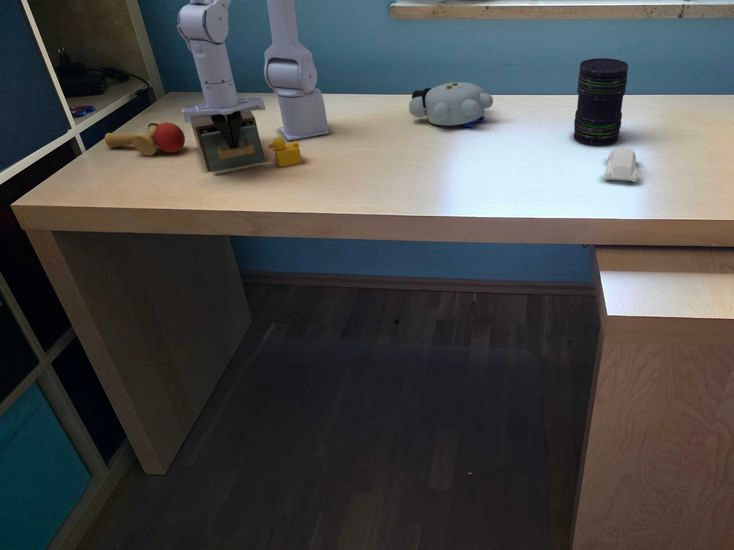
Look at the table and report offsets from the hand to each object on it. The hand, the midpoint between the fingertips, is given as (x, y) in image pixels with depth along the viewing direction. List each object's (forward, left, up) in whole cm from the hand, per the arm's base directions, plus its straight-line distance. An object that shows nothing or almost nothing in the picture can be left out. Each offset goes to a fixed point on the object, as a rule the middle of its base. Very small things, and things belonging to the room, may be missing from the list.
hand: (235, 152), depth 123 cm
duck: (-10, -2, -4) cm, 11 cm away
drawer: (0, -6, -4) cm, 7 cm away
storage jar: (-73, +17, -5) cm, 75 cm away
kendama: (+15, -23, -5) cm, 28 cm away
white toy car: (-67, +34, -5) cm, 75 cm away
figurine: (-50, -9, -5) cm, 51 cm away
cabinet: (0, -12, -4) cm, 12 cm away
